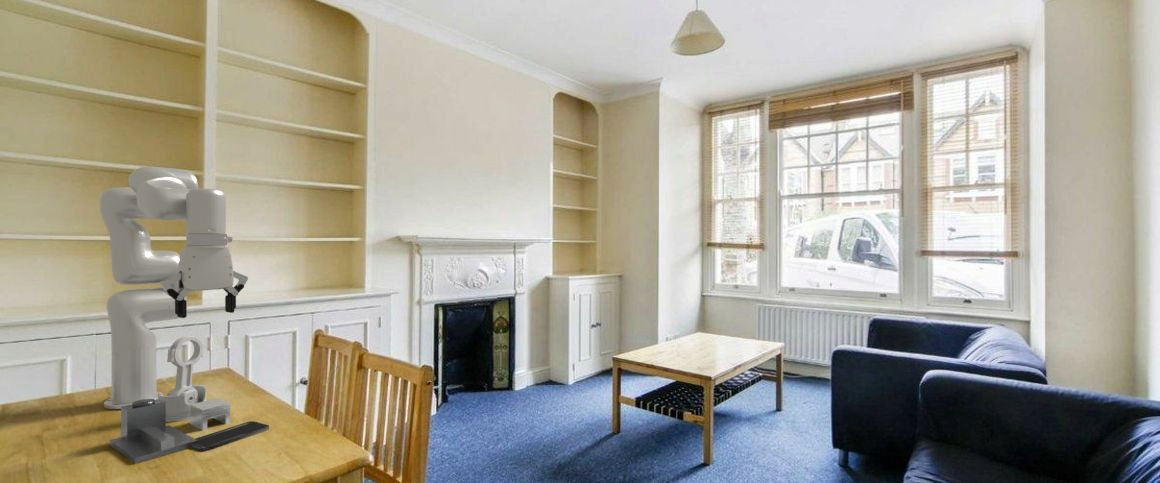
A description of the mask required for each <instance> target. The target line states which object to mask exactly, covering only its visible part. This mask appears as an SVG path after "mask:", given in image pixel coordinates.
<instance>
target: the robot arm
mask: <svg viewBox="0 0 1160 483" xmlns="http://www.w3.org/2000/svg"><path fill="white" fill-rule="evenodd" d="M128 184H129V185H128V187H126V186H125V187H119V186H118V187H112V188H108V189H106V190H104V191H103V192H102V193H101V195H100V198H99V212H100V216H101V219H102V221H103V224H104V225H105V227H106V230H107V232H108V234H109V239H110V240H109V241H110V255H111V256H110V257H111V258H110V259H111V270H112V277H113V279H114V281H115V282H116V283H117V284H120V285H132V286H133V285H134V286H135V285H152V284H153V285H154V284H159V285H160V286H161V287H159V288H158V287H157V288H137V289H127V290H122V291H118V292H115V293H112V295H110V297H109V298H108V299H107V302H106V311H107V316H108V320H109V327H110V333H111V334H110V337H111V345H110V346H111V348H110V350H111V397H110V398H108V399H107V400H105V401H104V402H103V407H104V408H105V409H109V410H121V407H122V406H127V405H132V403H133V402H135V401H139V400H143V399H158V394H160V395H161V396H164V392H161V391H157V337H156V335H155V333H154V332H153V331H152V330H151V329H150V328H149V327H147V325H146V324H148V323H154V322H163V321H171V320H177V319H180V318H181V319H186V318H187V316H188V314H187V312H188V311H187V308H188V294H190V292H200V291H201V292H202V291H213V290H223V291H225V293H226V294H227V295H225V299H224V302H225V303H224V304H225V305H224V307H225V309H224V310H225V312H226V313H231V314H233V313H235V309H236V308H237V296H238V295H239V293H240V292H241V291H242V290H243V289H244V288H245V285H246V284H247V282H248V279H249V277H248V276H247V275H244V274H241V273H239V272H237V271H234V265H233V260H232V255H231V251H230V250H231V249H230V247H227V245H228V243H232V242H233V237H232V236H228V235H227V229H226V228H227V224H226V223H227V215H226V214H227V212H226V211H227V210H226V209H227V208H226V207H227V206H226V205H227V202H226V201H227V197H226V194H225V193H224V191H222V190H220V189H215V188H205V187H204V188H199V182H198V178H197V176H195V174H194V173H193V172H191V171H189V170H185V169H181V168H179V169H178V168H171V167H162V166H161V167H160V166H159V167H158V166H143V167H138V168H136V169H135V170H133V171H132V172H131V173H130V174H129V176H128ZM136 219H149V220H158V221H185V236H186V237H185V239H186V240H185V243H186V244H185V245H186V246H185V247H182V248H181V250H180V252H179V253H178V252H177V251H173V250H153V249H152V246H151V235H150V233H149V231H148V230H147V228H145V227H144V225H142V224H141V223H140V222H139V221H138V220H136ZM234 279H237V280H238V282H237V283H236V285H234ZM233 285H234V287H233Z"/></svg>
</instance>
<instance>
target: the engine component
mask: <svg viewBox="0 0 1160 483" xmlns="http://www.w3.org/2000/svg"><path fill="white" fill-rule="evenodd" d="M187 342H191V344H192V345H193V354H192V355H191V356H190V358H188V360H187V361H185V362H183V361H182V360H181V358H180V355H179V352H180V349H181V347H182V346H183V345H184V344H185V343H187ZM204 354H205V344H203V342H202V340H201V339H200V338H198V337H196V336H192V335H184V336H180V337H178V338H177V339H175V341H174V342H173V343H172V345H171V346H170V348H168V351H167V359H166V362H167V363H171V364H172V365H174V367H176V374H175V388H173V389H172V390H170V391H168V392H167V395H163V396H161V395H160V394H158V399H161V400H163V401H165V402H166V423H171V422H182V421H188V420H189V419H190V404H195V403H199V402H203V401H207V387H206V385H204V384H203V385H202V384H192V383H193V371H194V365H195V364H197V363H198V362H199V360H200V359H201V358H204Z"/></svg>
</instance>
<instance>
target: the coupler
mask: <svg viewBox="0 0 1160 483" xmlns="http://www.w3.org/2000/svg"><path fill="white" fill-rule="evenodd" d="M197 443H198V440H196V438H194V437H193V436H191V435H188V434H186V433H185V432H183V431H181V430H179V429H177V428H175V427H173V426H172V425H167V422H166V402H165V401H163V400H161V399H143V400H139V401H135V402H133V403H132V405H127V406H122V407H121V409H120V437H116V438H113V439H109V444H108V446H109V447H111V448H113V449H114V450H115V451H117V452H118V453H120V454H121V455H123V457H125V458H126V459H128V460H129V461H131V462H132V463H133V464H135V465H137V464H139V463H143V462H146V461H149V460H154V459H157V458H160V457H164V456H167V455H171V454H173V453H177V452H182V451H184V450H188V449H192V448H191V444H197ZM163 455H164V456H163ZM159 456H160V457H159ZM153 458H154V459H153Z"/></svg>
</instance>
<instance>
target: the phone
mask: <svg viewBox="0 0 1160 483" xmlns="http://www.w3.org/2000/svg"><path fill="white" fill-rule="evenodd" d="M269 429H270V425H269V424H266V423H261V422H259V421H253V420H252V421H250V420H249V421H246V422H243V423H240V424H236V425H234V426H230V427H228V428H224V429H221V430H218V431H215V432H212V433H208V434H205V435H202V436H199V437H195V439H196V440H198V443H197V444H191V448H190V449H194V450H196V451H199V452H208V451H212V450H214V449H217V448H221V447H223V446H226V445H229V444H232V443H235V442H238V441H240V440H243V439H247V438H249V437H253V436H255V435H258V434H260V433H264V432H266V431H269Z"/></svg>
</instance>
